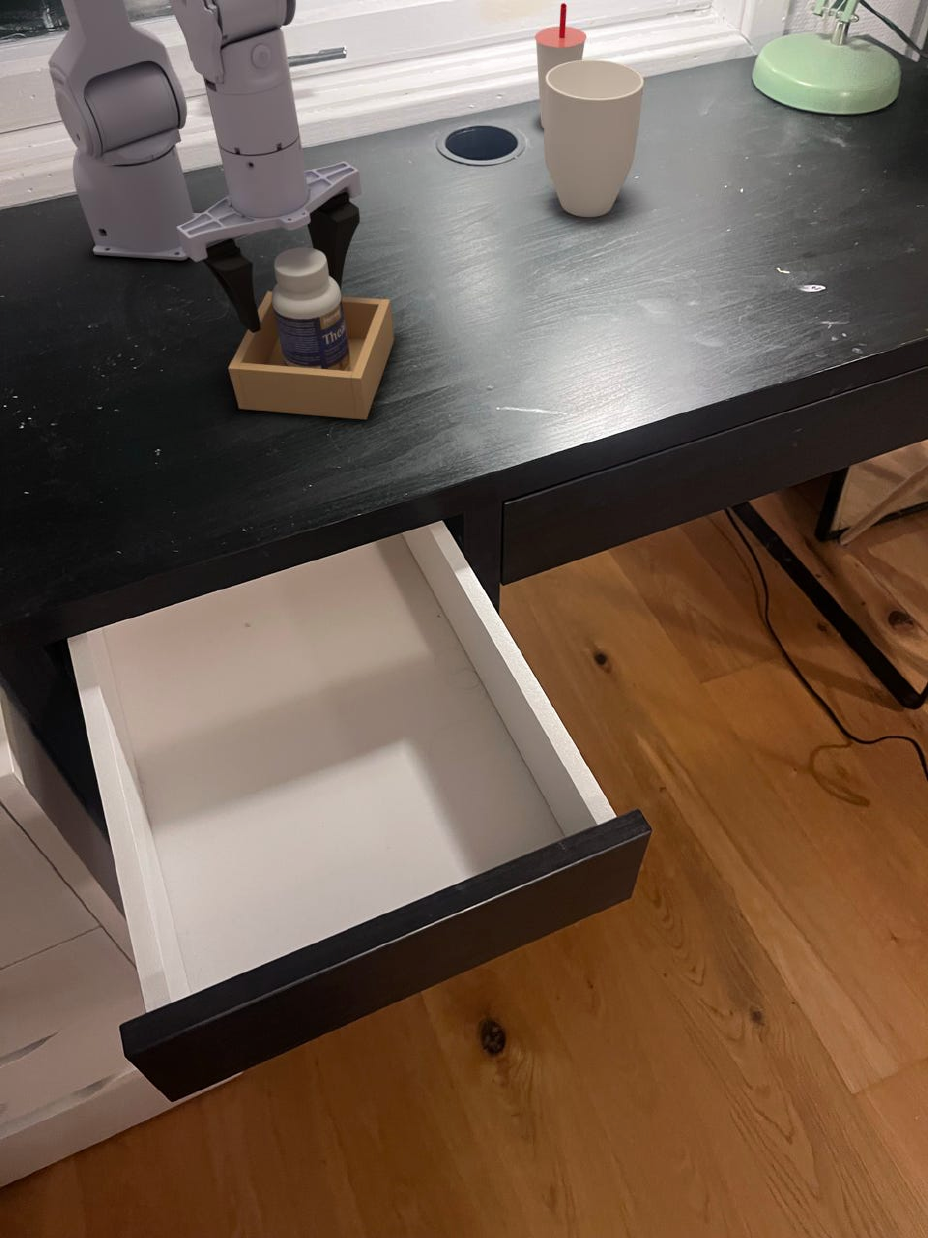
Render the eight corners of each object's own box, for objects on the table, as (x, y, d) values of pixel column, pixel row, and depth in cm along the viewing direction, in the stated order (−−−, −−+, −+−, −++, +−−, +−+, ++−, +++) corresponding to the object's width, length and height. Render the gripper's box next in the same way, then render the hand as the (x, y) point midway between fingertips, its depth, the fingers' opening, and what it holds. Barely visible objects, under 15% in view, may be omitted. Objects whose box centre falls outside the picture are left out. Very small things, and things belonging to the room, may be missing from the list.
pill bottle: (341, 391, 77) (323, 283, 70) (278, 385, 78) (254, 277, 70) (359, 351, 81) (344, 244, 73) (298, 345, 81) (277, 238, 74)
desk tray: (238, 408, 77) (227, 367, 74) (275, 331, 84) (267, 290, 80) (366, 419, 76) (360, 378, 73) (394, 340, 82) (390, 299, 79)
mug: (645, 218, 94) (661, 88, 84) (561, 235, 92) (568, 105, 83) (596, 164, 101) (606, 39, 91) (518, 180, 99) (520, 54, 90)
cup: (578, 136, 105) (586, 13, 95) (529, 134, 105) (532, 12, 96) (582, 114, 108) (590, -7, 99) (535, 112, 109) (538, -8, 99)
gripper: (194, 192, 62) (238, 366, 73) (376, 123, 67) (393, 295, 78) (144, 154, 65) (193, 325, 76) (321, 91, 71) (344, 259, 81)
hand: (291, 307), depth 77 cm, fingers open, 7 cm apart
